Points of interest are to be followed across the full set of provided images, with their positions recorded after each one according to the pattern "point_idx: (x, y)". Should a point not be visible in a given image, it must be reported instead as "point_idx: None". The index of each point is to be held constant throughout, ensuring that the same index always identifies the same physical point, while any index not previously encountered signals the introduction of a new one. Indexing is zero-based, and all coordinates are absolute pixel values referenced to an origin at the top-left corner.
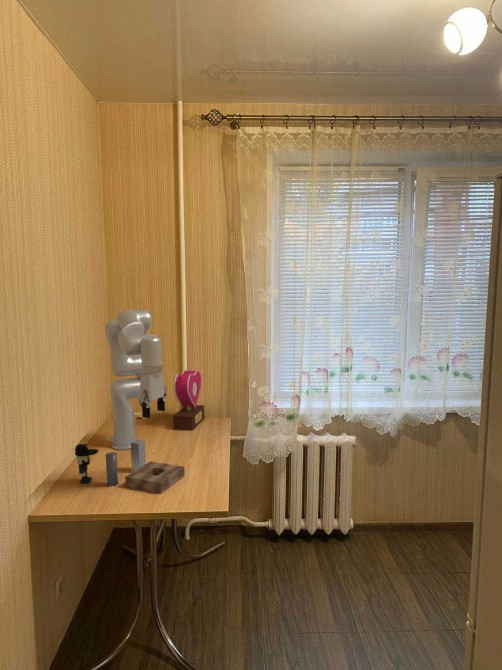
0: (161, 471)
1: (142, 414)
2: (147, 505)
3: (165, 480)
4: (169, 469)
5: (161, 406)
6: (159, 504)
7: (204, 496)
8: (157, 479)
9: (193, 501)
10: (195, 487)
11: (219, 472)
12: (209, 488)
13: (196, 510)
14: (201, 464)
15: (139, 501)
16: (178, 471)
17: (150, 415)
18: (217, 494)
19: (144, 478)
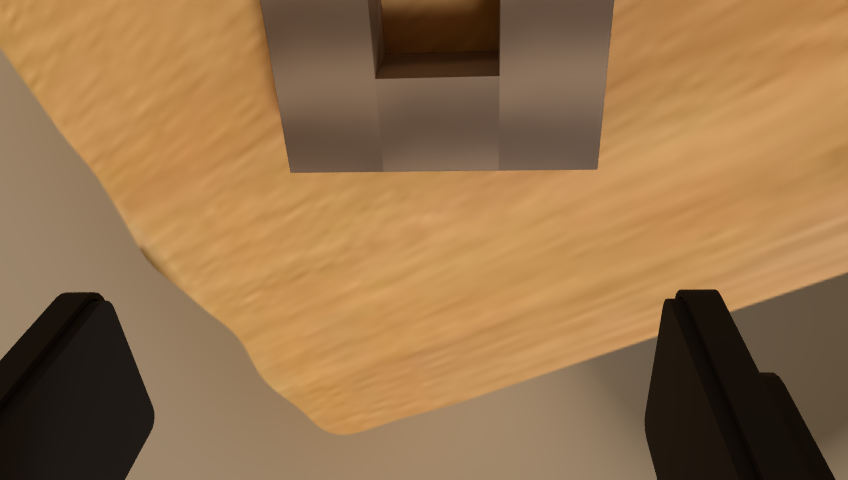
0: (499, 22)
1: (30, 330)
2: (155, 152)
3: (343, 170)
4: (511, 97)
5: (677, 469)
6: (202, 202)
7: (389, 346)
8: (322, 119)
9: (320, 326)
10: (462, 268)
11: None
12: (480, 332)
13: (257, 369)
14: (831, 138)
15: (160, 80)
16: (513, 167)
17: (139, 450)
18: (434, 384)
19: (288, 15)
